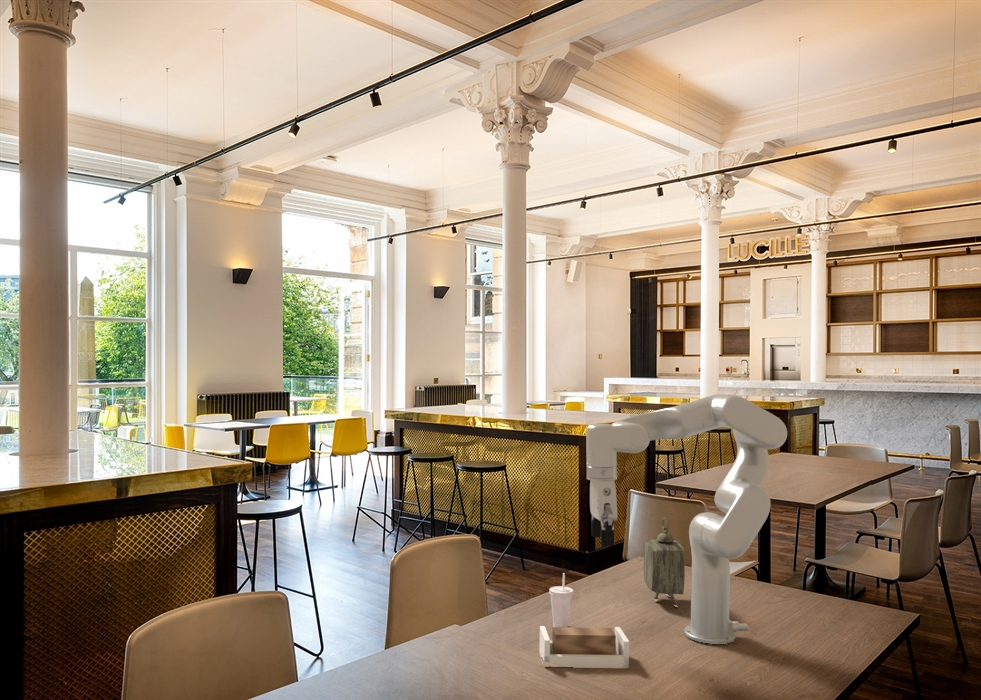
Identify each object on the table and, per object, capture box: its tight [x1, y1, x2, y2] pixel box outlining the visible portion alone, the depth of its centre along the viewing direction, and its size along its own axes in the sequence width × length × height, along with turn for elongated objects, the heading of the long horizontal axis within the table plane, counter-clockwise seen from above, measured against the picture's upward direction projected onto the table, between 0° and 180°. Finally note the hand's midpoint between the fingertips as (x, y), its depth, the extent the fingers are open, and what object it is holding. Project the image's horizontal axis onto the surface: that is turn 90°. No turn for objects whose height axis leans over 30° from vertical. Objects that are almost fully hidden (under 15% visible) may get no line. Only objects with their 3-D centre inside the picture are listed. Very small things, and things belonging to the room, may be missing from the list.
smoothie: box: [548, 572, 574, 628], centre depth 187 cm, size 6×6×14 cm
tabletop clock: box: [643, 516, 686, 606], centre depth 211 cm, size 14×9×25 cm, turn 179°
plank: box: [551, 626, 616, 655], centre depth 165 cm, size 14×5×4 cm, turn 93°
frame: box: [538, 625, 630, 669], centre depth 165 cm, size 19×9×6 cm, turn 93°
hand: (602, 541), depth 177 cm, fingers open, 9 cm apart
